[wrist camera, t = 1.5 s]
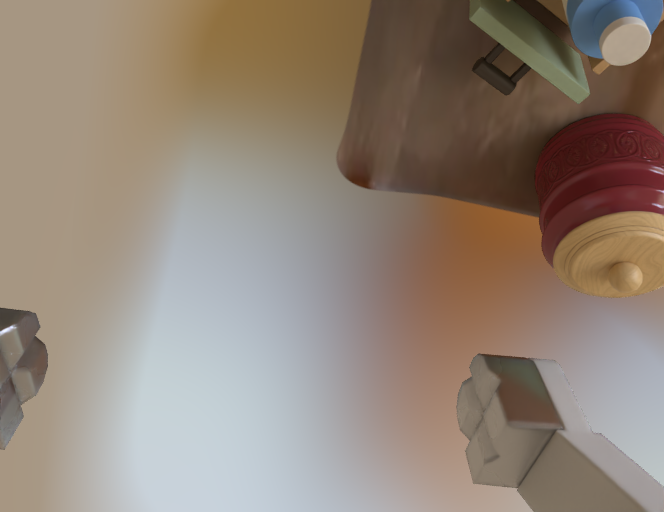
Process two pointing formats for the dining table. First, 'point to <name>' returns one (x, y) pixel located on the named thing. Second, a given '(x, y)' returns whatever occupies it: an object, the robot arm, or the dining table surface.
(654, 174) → the kitchen canister
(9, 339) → the robot arm
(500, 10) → the drawer
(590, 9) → the bottle
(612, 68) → the dining table surface
